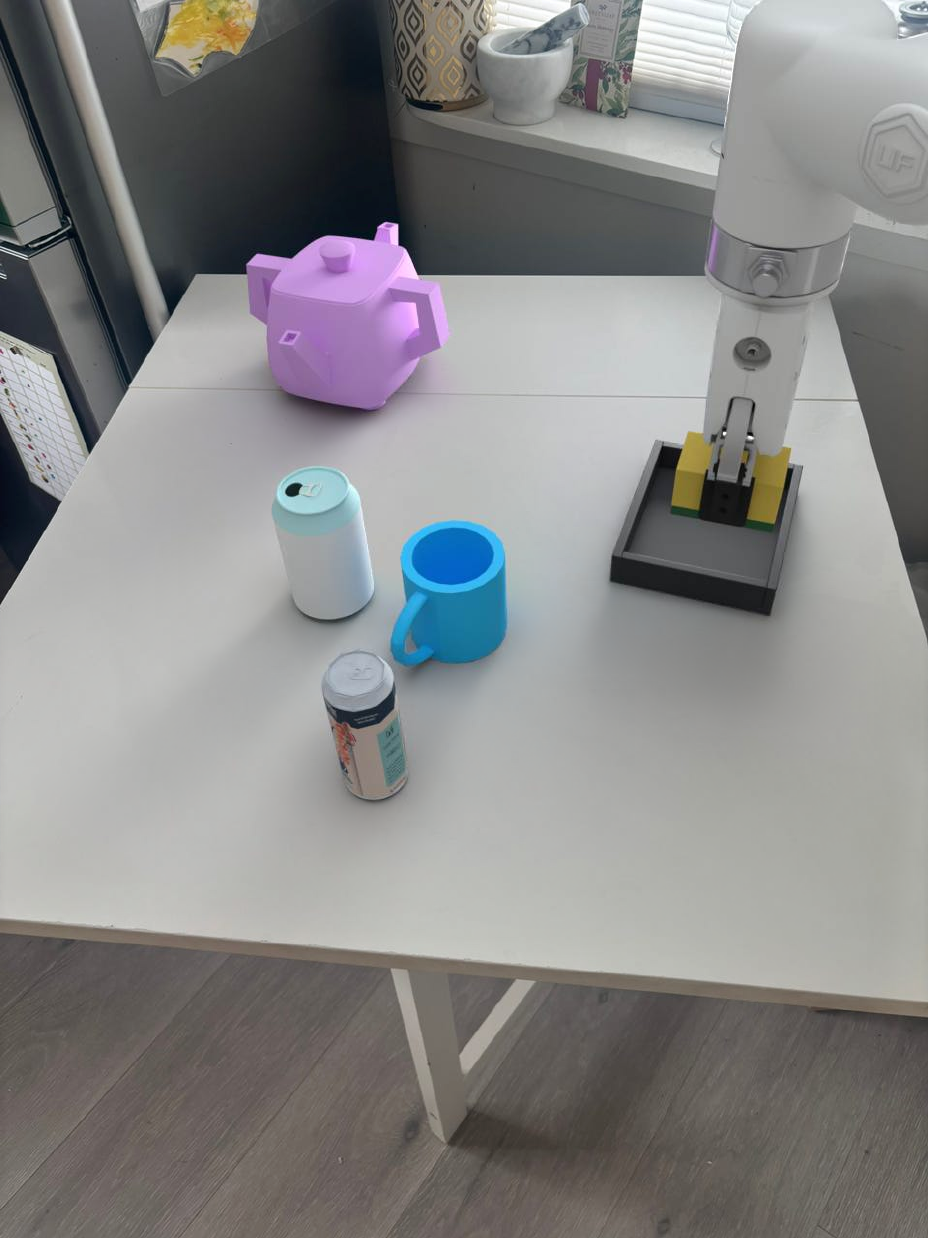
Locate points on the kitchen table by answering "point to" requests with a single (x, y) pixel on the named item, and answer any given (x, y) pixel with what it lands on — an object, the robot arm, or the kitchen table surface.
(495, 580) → the mug
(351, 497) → the can
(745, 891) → the kitchen table surface
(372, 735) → the beer can
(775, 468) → the sponge
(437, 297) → the teapot
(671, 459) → the tray
